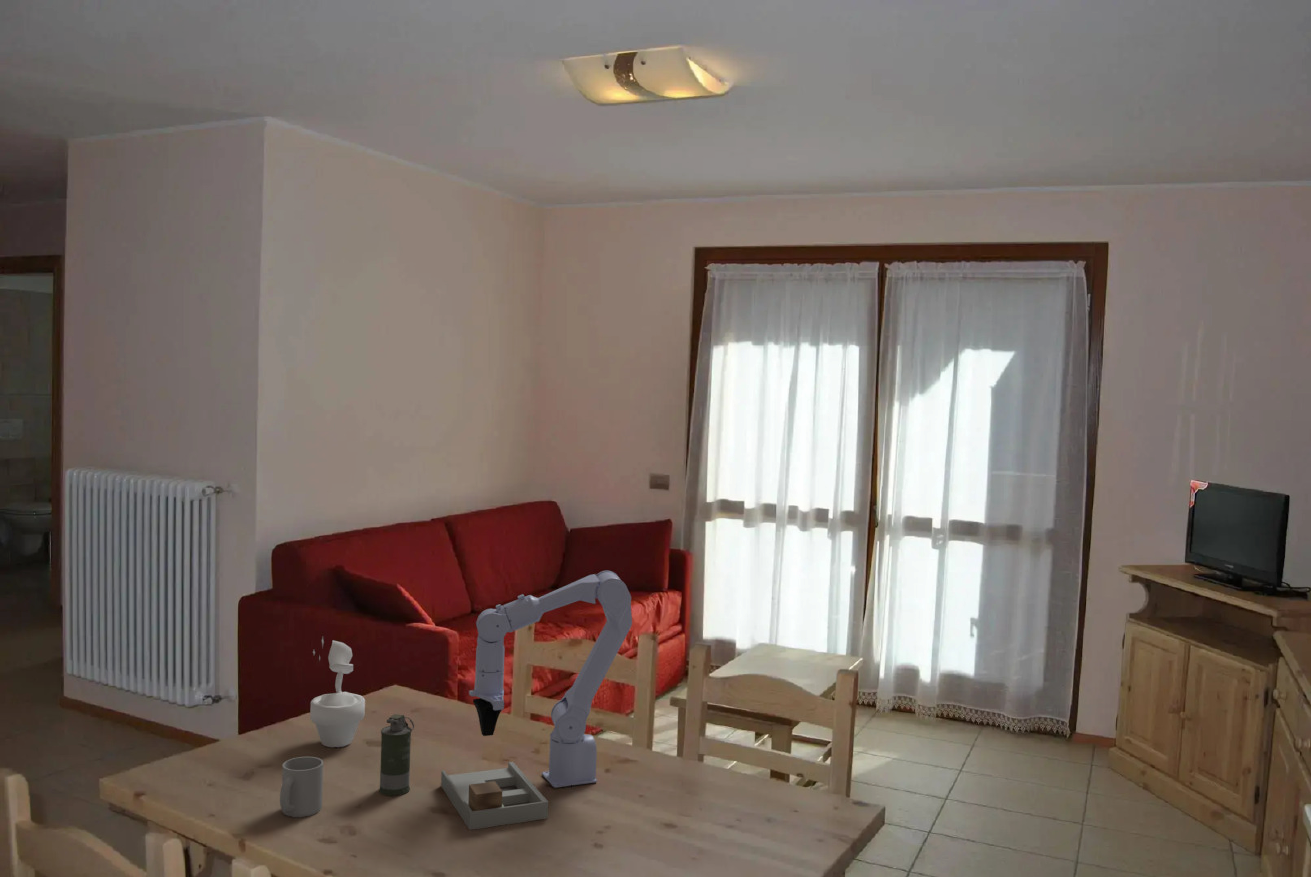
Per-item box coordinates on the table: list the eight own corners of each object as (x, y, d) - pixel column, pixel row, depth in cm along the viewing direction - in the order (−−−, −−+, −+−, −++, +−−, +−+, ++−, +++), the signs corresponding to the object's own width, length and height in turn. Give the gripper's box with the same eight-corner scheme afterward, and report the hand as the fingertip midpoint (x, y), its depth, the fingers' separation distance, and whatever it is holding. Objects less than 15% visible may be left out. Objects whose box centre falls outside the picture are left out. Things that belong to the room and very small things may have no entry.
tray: (512, 776, 213) (512, 761, 213) (547, 818, 193) (548, 801, 193) (441, 786, 207) (441, 770, 206) (469, 830, 187) (470, 812, 187)
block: (494, 802, 195) (494, 781, 195) (501, 812, 190) (502, 791, 190) (468, 805, 193) (469, 784, 193) (475, 815, 188) (476, 794, 188)
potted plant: (309, 736, 232) (312, 627, 231) (362, 733, 235) (366, 626, 234) (308, 755, 220) (311, 641, 219) (364, 752, 223) (368, 639, 222)
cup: (329, 805, 195) (330, 759, 194) (298, 826, 185) (300, 778, 185) (296, 800, 197) (297, 754, 196) (264, 820, 187) (265, 773, 187)
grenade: (402, 797, 200) (404, 722, 199) (373, 794, 201) (375, 719, 200) (415, 785, 206) (418, 712, 205) (388, 782, 207) (390, 709, 207)
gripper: (461, 661, 213) (459, 725, 214) (480, 680, 200) (477, 748, 201) (494, 658, 216) (491, 722, 217) (514, 677, 203) (512, 744, 204)
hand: (487, 734), depth 209 cm, fingers closed
